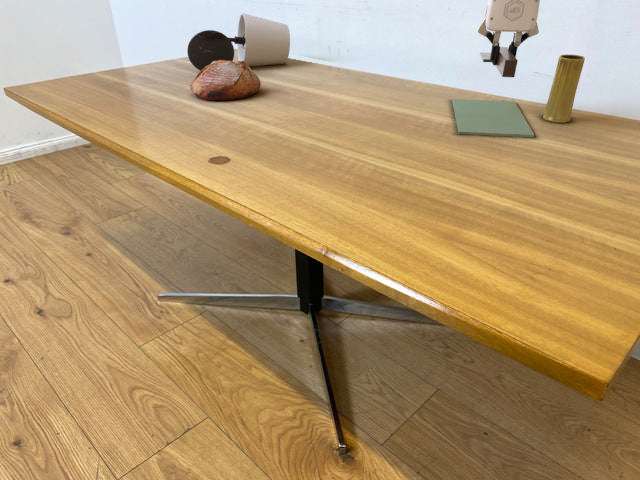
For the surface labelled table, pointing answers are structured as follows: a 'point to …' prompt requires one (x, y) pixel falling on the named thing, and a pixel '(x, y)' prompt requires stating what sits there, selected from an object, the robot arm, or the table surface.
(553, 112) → the vase
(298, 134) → the table surface
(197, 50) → the light fixture
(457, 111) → the mat
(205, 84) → the bread
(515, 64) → the spatula
